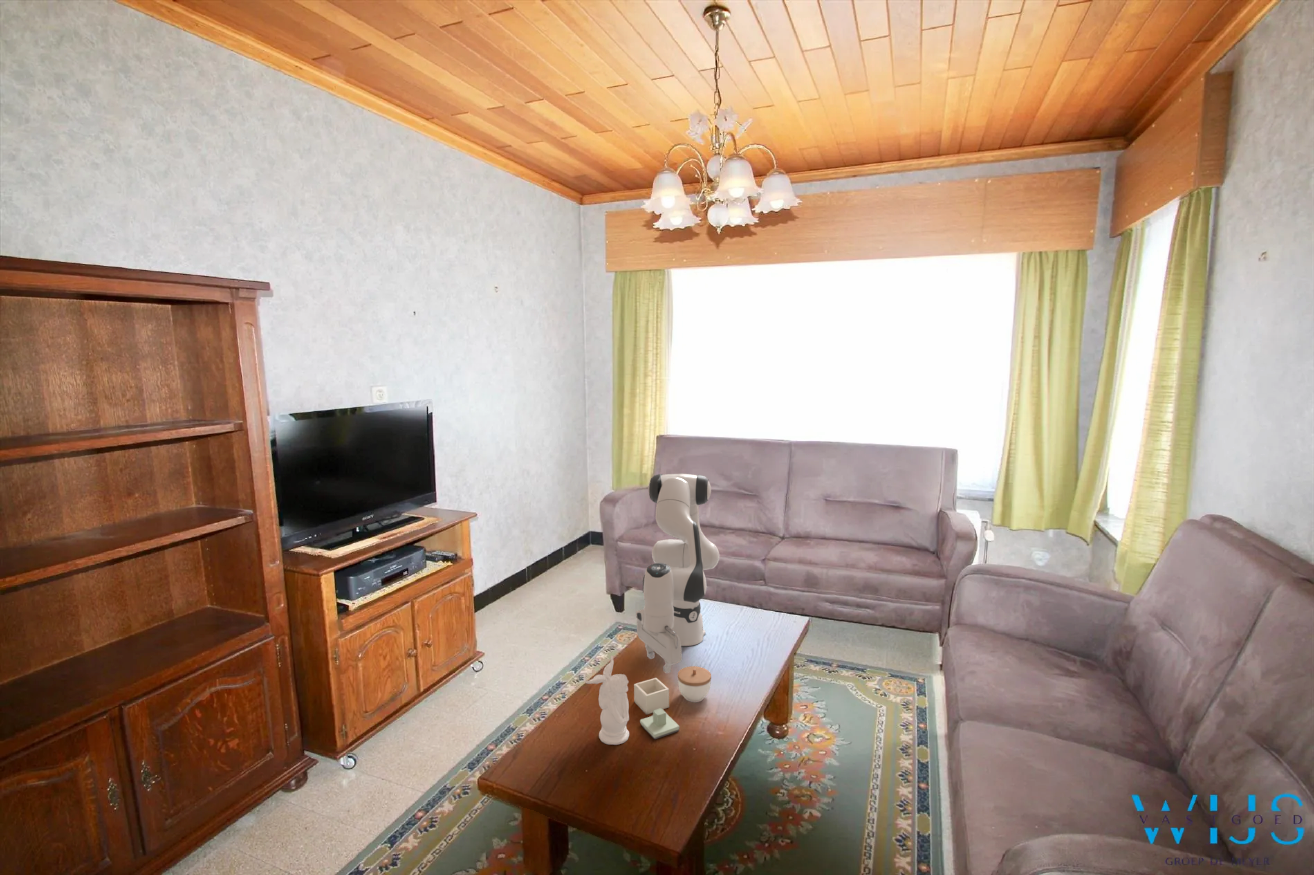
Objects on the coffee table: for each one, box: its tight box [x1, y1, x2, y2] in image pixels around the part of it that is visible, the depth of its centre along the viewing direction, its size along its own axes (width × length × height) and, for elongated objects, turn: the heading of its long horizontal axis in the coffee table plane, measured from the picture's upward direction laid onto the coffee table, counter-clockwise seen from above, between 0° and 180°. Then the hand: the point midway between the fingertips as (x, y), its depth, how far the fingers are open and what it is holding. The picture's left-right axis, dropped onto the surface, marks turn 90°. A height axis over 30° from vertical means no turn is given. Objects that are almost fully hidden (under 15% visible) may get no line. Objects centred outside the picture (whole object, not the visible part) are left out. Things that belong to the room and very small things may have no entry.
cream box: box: [633, 677, 670, 715], centre depth 191 cm, size 8×8×6 cm
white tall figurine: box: [584, 655, 630, 746], centre depth 174 cm, size 12×12×22 cm
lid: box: [639, 708, 680, 739], centre depth 179 cm, size 8×8×4 cm
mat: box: [640, 723, 679, 740], centre depth 179 cm, size 8×8×1 cm
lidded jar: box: [677, 665, 712, 703], centre depth 195 cm, size 11×11×9 cm
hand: (658, 664), depth 180 cm, fingers open, 8 cm apart
